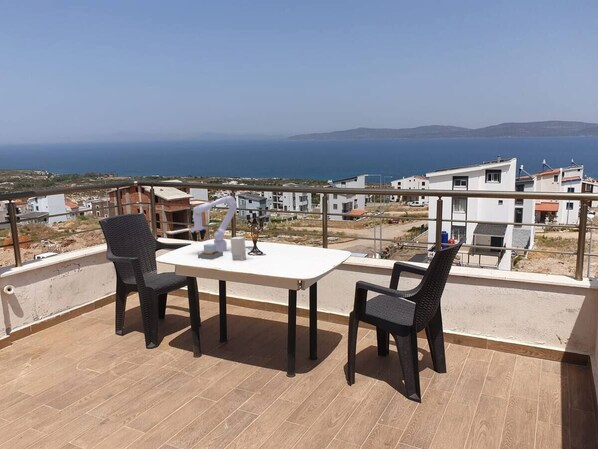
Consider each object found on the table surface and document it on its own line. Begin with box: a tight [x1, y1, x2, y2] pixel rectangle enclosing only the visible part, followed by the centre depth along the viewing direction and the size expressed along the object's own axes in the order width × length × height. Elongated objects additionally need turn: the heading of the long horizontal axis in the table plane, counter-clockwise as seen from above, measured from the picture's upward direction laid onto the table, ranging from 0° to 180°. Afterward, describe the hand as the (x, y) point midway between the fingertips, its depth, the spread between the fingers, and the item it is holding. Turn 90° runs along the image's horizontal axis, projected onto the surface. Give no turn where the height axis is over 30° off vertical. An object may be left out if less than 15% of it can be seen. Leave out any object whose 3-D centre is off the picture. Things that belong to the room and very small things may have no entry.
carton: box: [203, 243, 216, 253], centre depth 312 cm, size 5×7×5 cm
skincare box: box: [230, 236, 247, 261], centre depth 305 cm, size 8×7×16 cm
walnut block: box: [201, 251, 218, 256], centre depth 312 cm, size 8×8×4 cm
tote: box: [197, 251, 224, 261], centre depth 313 cm, size 13×13×4 cm
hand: (198, 240), depth 325 cm, fingers open, 7 cm apart
